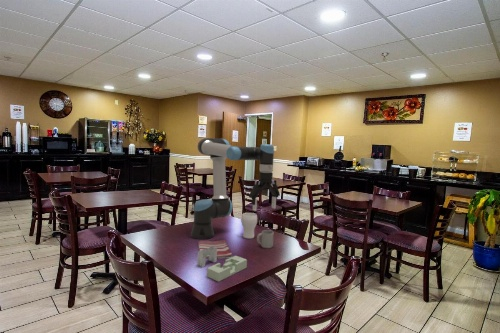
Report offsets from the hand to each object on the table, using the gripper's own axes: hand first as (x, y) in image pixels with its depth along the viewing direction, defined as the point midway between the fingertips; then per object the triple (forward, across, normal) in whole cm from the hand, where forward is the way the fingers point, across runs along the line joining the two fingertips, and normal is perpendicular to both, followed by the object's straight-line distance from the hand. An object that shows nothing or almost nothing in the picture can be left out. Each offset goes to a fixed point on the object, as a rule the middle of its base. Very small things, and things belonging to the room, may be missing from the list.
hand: (264, 209), depth 159 cm
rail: (+25, -30, -12) cm, 41 cm away
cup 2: (+25, +7, +7) cm, 27 cm away
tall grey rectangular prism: (+25, -34, +1) cm, 42 cm away
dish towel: (+26, -23, +15) cm, 38 cm away
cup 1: (+25, +8, +26) cm, 37 cm away
